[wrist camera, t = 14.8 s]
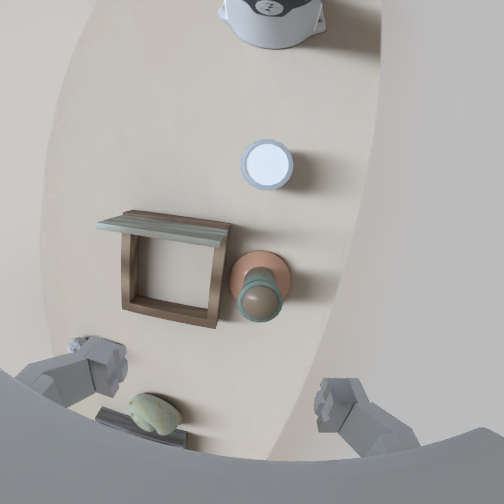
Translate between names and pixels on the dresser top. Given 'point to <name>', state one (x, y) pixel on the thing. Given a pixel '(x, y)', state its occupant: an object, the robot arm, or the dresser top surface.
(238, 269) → the pink round part
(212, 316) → the frame
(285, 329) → the dresser top surface
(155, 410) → the seashell
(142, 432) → the display tray
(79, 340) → the grey rock chunk
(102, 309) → the dresser top surface
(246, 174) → the shot glass
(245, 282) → the plant pot
